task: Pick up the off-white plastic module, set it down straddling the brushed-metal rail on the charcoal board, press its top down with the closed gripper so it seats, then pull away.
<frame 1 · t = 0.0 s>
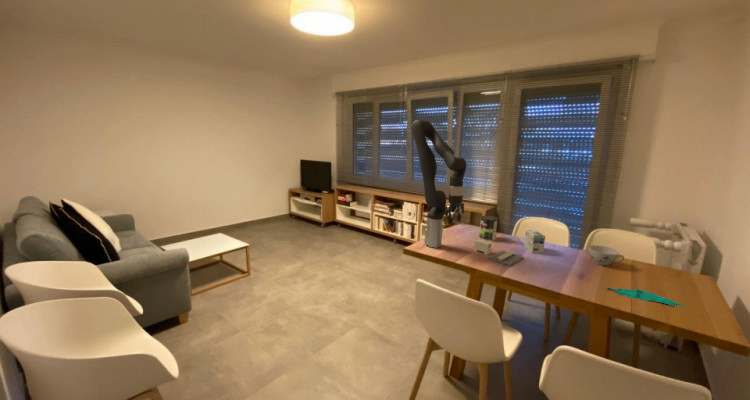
hand: (454, 222, 174), 17 cm above the table, tool pointing down, fingers open, 8 cm apart
teacup: (604, 264, 165), on the table
cloth: (643, 298, 132), on the table
coffee can: (487, 238, 202), on the table
mounting board: (505, 258, 169), on the table
metal rail: (506, 256, 169), on the mounting board, point 1 cm above the table
light bulb box: (533, 250, 183), on the table
module: (482, 251, 179), on the table
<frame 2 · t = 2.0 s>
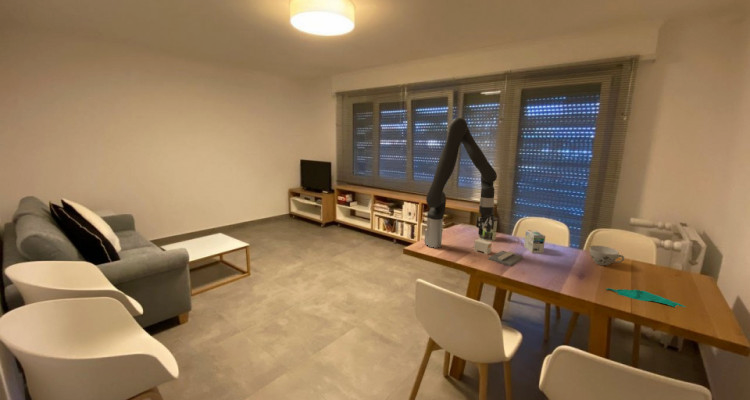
hand: (484, 233, 176), 11 cm above the table, tool pointing down, fingers open, 8 cm apart
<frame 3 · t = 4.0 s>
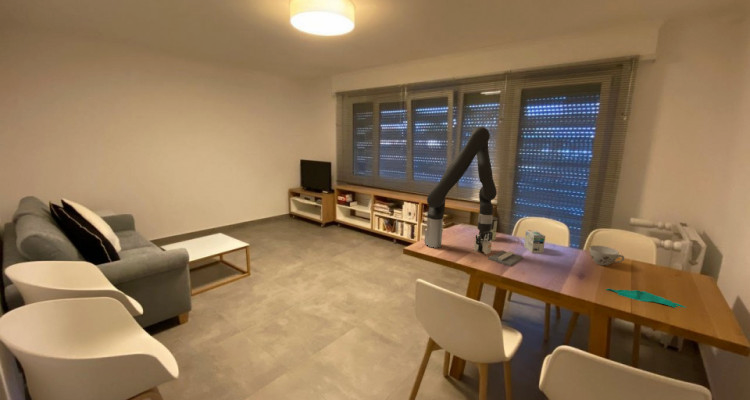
hand: (482, 250, 179), 1 cm above the table, tool pointing down, fingers closed on module, 4 cm apart
module: (482, 251, 179), on the table, touching gripper
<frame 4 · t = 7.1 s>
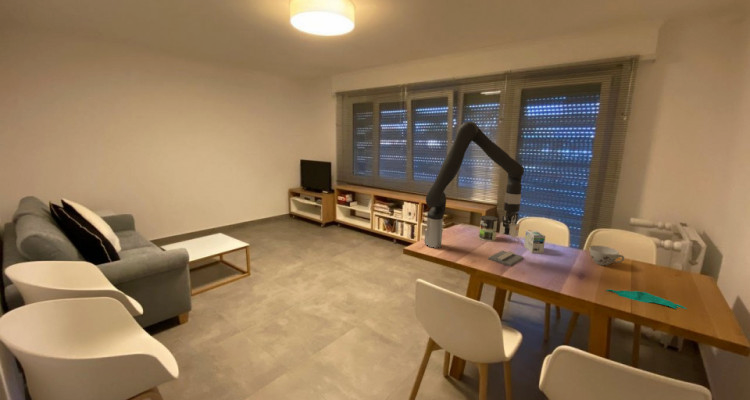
hand: (508, 233, 166), 15 cm above the table, tool pointing down, fingers closed on module, 4 cm apart
module: (508, 234, 166), point 14 cm above the table, touching gripper
when the fingers open (3 cm above the table, at t = 10.3 s): module drops 1 cm, resting on metal rail.
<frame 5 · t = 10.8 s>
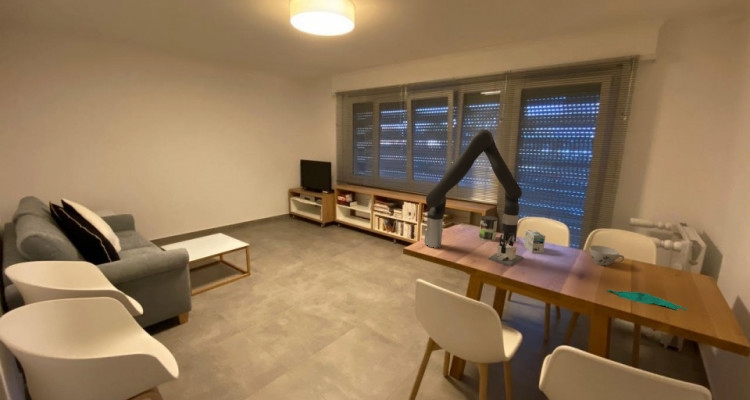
hand: (506, 251, 168), 4 cm above the table, tool pointing down, fingers open, 8 cm apart
module: (506, 256, 169), point 1 cm above the table, touching metal rail
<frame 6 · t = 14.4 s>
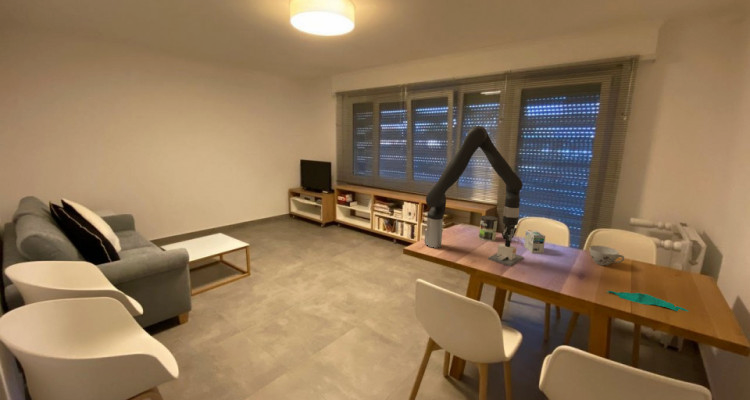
hand: (507, 246, 167), 7 cm above the table, tool pointing down, fingers closed
module: (506, 256, 169), point 1 cm above the table, touching gripper, metal rail
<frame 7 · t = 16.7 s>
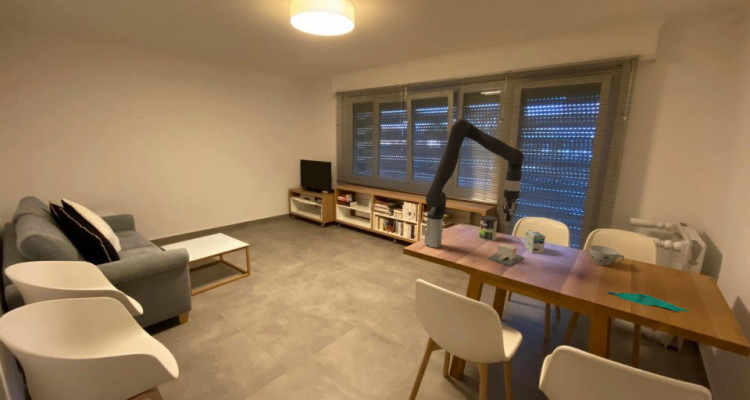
hand: (508, 221, 165), 21 cm above the table, tool pointing down, fingers closed
module: (506, 256, 169), point 1 cm above the table, touching metal rail
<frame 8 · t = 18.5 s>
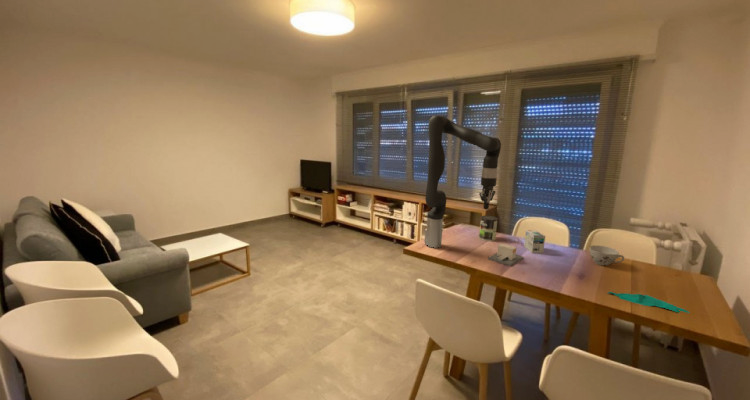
hand: (485, 209, 165), 27 cm above the table, tool pointing down, fingers closed
at the end: module 0.1 cm off-centre on the metal rail, point 1.2 cm above the metal rail's base; module tilted 0°; the gripper is holding nothing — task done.
